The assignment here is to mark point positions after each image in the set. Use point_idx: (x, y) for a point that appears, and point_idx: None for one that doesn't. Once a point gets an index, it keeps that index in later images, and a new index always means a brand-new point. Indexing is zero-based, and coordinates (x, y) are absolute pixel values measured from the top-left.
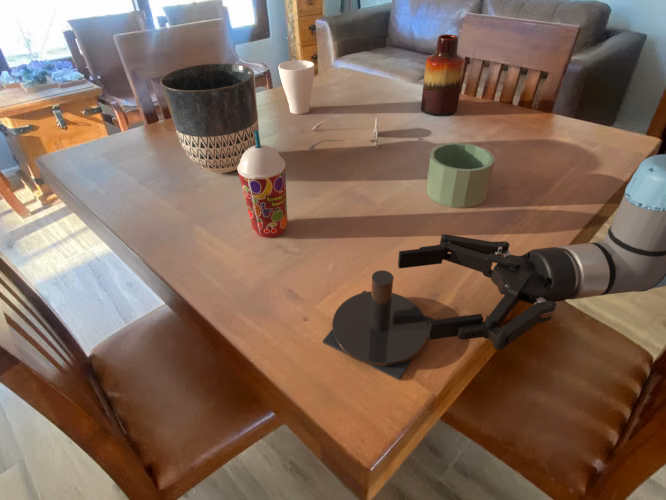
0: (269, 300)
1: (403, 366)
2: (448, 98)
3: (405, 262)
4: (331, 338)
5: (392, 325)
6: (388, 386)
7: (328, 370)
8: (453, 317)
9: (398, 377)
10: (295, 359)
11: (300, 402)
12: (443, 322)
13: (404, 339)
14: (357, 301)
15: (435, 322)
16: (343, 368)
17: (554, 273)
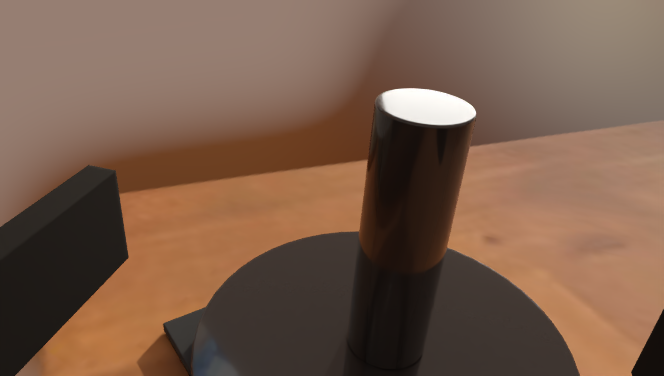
0: (575, 206)
1: (191, 352)
2: None
3: (659, 370)
4: None
5: (360, 372)
6: (169, 301)
7: (303, 225)
8: (25, 235)
9: (168, 322)
10: None
11: (257, 175)
12: (52, 198)
13: (271, 373)
14: (523, 326)
15: (84, 178)
16: None
17: None
